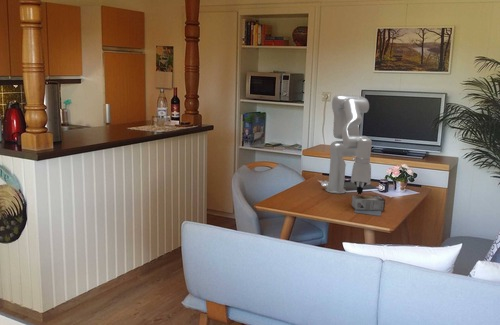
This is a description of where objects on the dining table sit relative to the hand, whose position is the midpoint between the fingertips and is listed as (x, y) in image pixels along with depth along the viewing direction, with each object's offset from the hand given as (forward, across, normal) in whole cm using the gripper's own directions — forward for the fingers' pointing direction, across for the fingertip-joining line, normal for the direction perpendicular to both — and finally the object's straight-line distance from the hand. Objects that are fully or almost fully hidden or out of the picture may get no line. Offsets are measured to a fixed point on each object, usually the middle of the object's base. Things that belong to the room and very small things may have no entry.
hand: (359, 193), depth 284 cm
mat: (+9, +6, 0) cm, 11 cm away
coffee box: (+6, -3, +1) cm, 6 cm away
